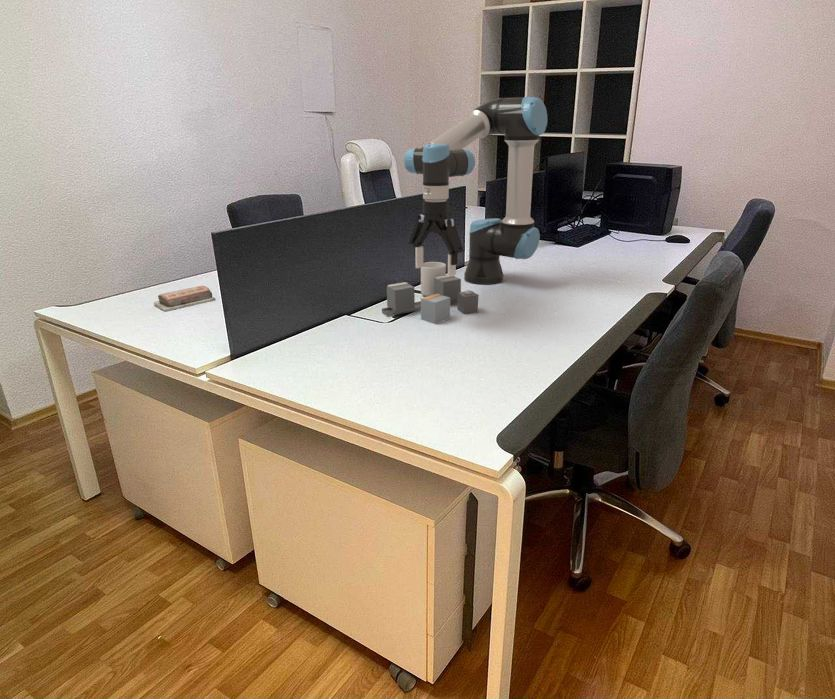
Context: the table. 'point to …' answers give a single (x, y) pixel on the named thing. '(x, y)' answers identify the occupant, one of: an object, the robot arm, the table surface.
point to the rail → (391, 312)
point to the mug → (431, 276)
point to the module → (435, 308)
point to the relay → (467, 302)
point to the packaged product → (184, 298)
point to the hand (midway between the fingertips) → (435, 271)
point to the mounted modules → (404, 297)
